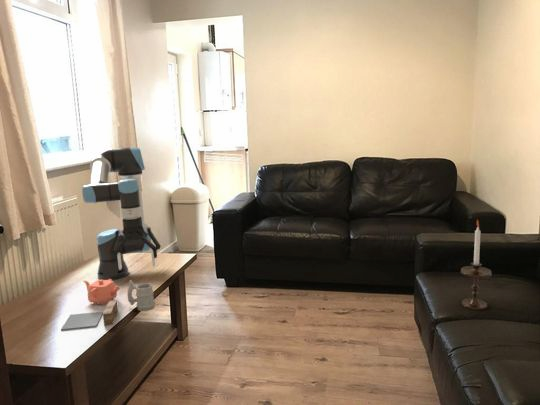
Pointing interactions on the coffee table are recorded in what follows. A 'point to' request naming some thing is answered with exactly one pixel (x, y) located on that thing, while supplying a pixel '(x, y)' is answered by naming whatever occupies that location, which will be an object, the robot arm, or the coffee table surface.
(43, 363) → the coffee table surface
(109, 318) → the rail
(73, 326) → the plate
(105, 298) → the teapot
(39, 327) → the coffee table surface
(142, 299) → the mug
